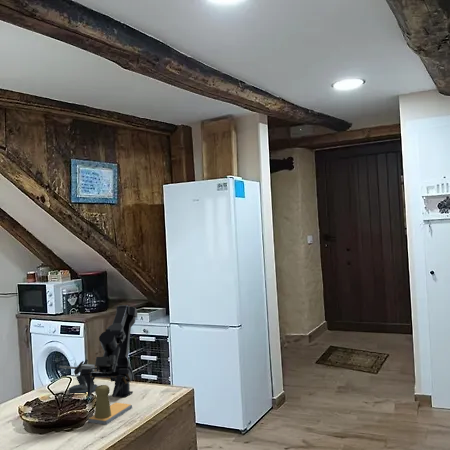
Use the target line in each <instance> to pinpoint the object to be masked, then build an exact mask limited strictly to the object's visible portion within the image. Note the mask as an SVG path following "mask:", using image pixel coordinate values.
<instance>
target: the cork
mask: <svg viewBox="0 0 450 450" xmlns="http://www.w3.org/2000/svg"><path fill="white" fill-rule="evenodd" d="M94 393H95V395H96V400H95V411H94V415H95V418H97V419H105V418H108V417H110V416H111V409H110V405H111V404H110V398H109V397H110V396H109V393H110V387H109V385H107V384H100V385H97V387H96V389H95V392H94Z"/></svg>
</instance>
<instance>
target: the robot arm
mask: <svg viewBox="0 0 450 450" xmlns="http://www.w3.org/2000/svg"><path fill="white" fill-rule="evenodd" d="M137 317H138V309H137V308H136V307H135V306H131V305H127V304H123V305H120V304H119V305H117V307H116V311H115V316H114V319H113V321H112V324H111V325H109V326H108V327H107V328H106V329H105V331H103V332H102V333H101V334H100V335H99V337H98V340H99V343H100V345H101V349H102V350H103V356H96V358H95V367H96V368H97V369H98V372H97V371H95V370H94V371H93V370H92V368H83V369H81V371H80V373H79V375H80V376H81V377H82V379H83V381H85V382H86V383H87V390H88V394H87V396H88V397H89V398H90V397H91V395H92V393H91V392H92V389H93V385H94V384H95V378H109V379H110V382H114V388H113V390H112V394H111V396H112V397H113V398H115V397H116V398H117V397H118V398H126V397H128V396H131V394H133V393H134V391H133V390H132V391H131V389H130V383H131V382H132V381H134V380H135V378H134V377H135V376H134V371H133V368H132V366H131V362H130V361H129V359H128V358H129V349H130V339H131V331H132V330H131V329H132V327H133V325H134V324H135V323H136V319H137ZM97 366H98V367H97ZM97 369H96V370H97Z"/></svg>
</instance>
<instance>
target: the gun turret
mask: <svg viewBox="0 0 450 450" xmlns="http://www.w3.org/2000/svg"><path fill="white" fill-rule="evenodd" d="M88 361H89V360H88V359H85V360H82V361H81V362H80V363H79V364H78V365H77V366H69V365H68V366H67V365H59V366H58V369H69V370H73V373H74V375H75V376H76V375H77V376H76V380H77V383H78V384H75V385H72V386H70V387H69V388H68V394H70V393H86V392H88V390H87V383H86V382H85V381H83V379H82V377H81V376H80V371H81V369H83V368H92V370H93V371H94V372H95V370H96V372H99V370H98V369H97V367H98V366H95V364H90V363H88ZM97 386H98V384H95V383H94V385H93V389H92V392H91V394H93V393H95V389H96V387H97Z"/></svg>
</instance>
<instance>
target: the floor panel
mask: <svg viewBox="0 0 450 450" xmlns="http://www.w3.org/2000/svg"><path fill="white" fill-rule="evenodd" d="M110 409H111V416H110V417H108V418H105V419H97V418H95V414H94V415H92V416H90V417H89V418H87V422H88V423H91V424H92V423H93V424H99V425H106V426H107V425H108V424H110V423H111V422H113V421H115V420H116V419H117V418H120V416H122V415H124V414H125V413H127V412H129V411H131V409H133V405H132V404H131V403H122V402H113V403H112V404H110ZM114 419H115V420H114Z"/></svg>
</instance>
